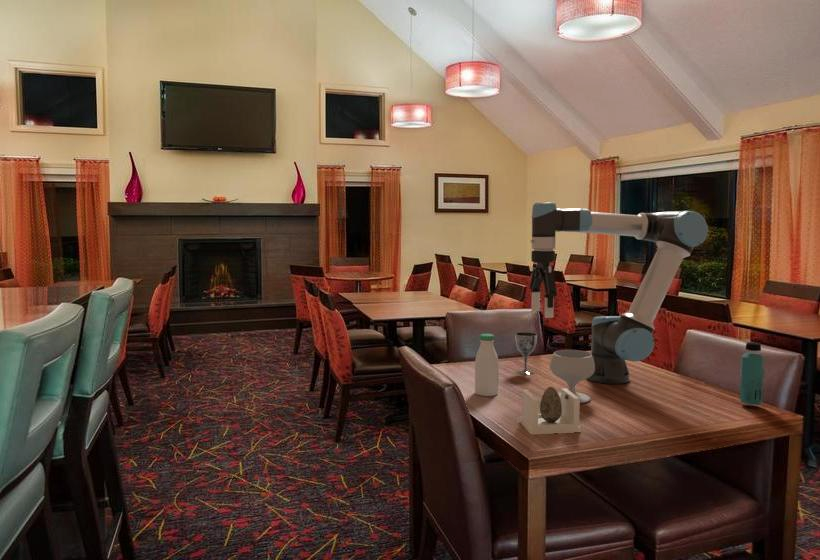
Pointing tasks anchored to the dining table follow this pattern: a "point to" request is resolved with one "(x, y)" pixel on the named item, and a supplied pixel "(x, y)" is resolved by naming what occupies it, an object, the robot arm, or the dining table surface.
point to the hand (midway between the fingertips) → (542, 314)
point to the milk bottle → (486, 367)
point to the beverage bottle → (752, 375)
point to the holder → (540, 426)
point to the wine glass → (525, 348)
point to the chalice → (573, 369)
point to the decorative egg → (550, 405)
